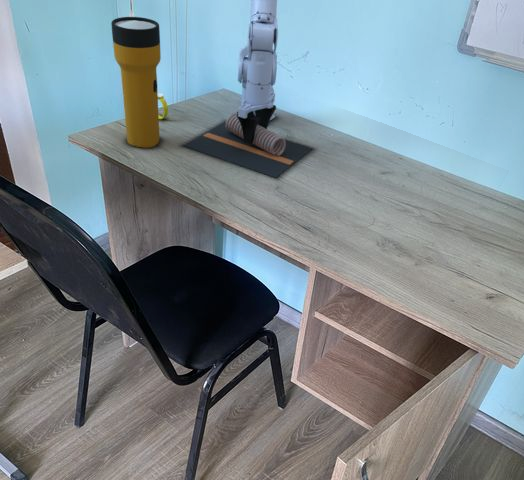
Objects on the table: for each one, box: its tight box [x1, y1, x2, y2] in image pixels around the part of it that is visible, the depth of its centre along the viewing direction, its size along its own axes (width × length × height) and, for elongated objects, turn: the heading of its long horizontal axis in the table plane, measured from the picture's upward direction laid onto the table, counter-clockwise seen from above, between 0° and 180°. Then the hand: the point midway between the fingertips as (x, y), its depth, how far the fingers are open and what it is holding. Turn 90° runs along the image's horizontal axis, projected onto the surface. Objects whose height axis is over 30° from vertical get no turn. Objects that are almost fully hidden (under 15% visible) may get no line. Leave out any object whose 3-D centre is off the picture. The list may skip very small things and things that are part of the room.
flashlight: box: [111, 16, 162, 149], centre depth 122 cm, size 10×26×10 cm
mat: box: [182, 120, 314, 179], centre depth 134 cm, size 20×26×1 cm
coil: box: [225, 113, 286, 156], centre depth 134 cm, size 5×5×18 cm
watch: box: [158, 92, 169, 121], centre depth 140 cm, size 6×3×6 cm, turn 52°
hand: (254, 138), depth 134 cm, fingers closed on coil, 5 cm apart
